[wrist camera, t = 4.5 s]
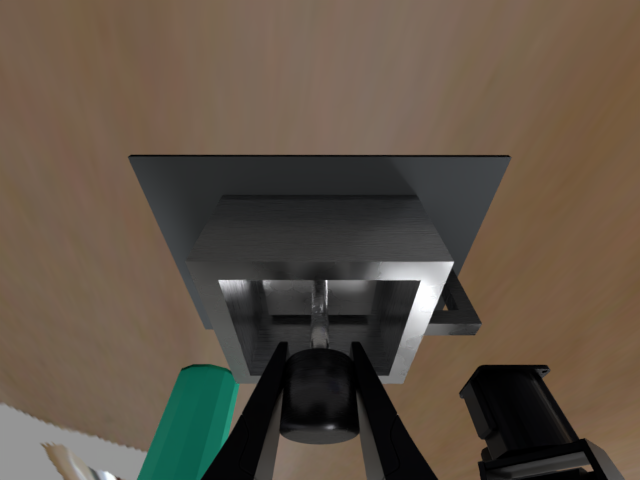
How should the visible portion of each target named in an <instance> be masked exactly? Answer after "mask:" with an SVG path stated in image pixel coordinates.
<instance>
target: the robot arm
mask: <svg viewBox="0 0 640 480" xmlns="http://www.w3.org/2000/svg"><path fill="white" fill-rule="evenodd" d="M288 358H289V344H288V342H287V341H280V342H279V343H278V345H277V347H276V349H275V351H274V353H273V355H272V356H271V358H270V360H269V362H268V364H267V366H266V368H265V370H264V372H263V374H262V375H261V377H260V379H259V381H258V383H257V385H256V387H255V389H254V391H253V392H252V394H251V396H250V398H249V400H248V402H247V404H246V406H245V408H244V409H243V411H242V414H241V415H240V417H239V419H238V421H237V423H236V424H235V426H234V428H233V430H232V431H231V433H230V435H229V437H228V438H227V440H226V441H225V443H224V445H223V446H222V448H221V449H220V451H219V452H218V454H217V455H216V457H215V458H214V460H213V461H212V463H211V464H210V466H209V467H208V469H207V470H206V472H205V474H204V475H203V477H202V478H201V479H200V480H272V478H273V472H274V466H275V460H276V454H277V448H278V442H279V436H280V432H279V428H280V418H281V408H282V398H283V388H284V379H285V371H286V362H287V360H288ZM350 358H351V359H352V361H353V368H354V377H355V385H356V395H357V405H358V416H359V426H360V433H359V435H360V441H361V447H362V453H363V459H364V465H365V471H366V477H367V480H438V478H437V477H436V475H435V474H434V472H433V471H432V469H431V468H430V466H429V465H428V463H427V461H426V460H425V458H424V457H423V455H422V454H421V452H420V451H419V449H418V448H417V446H416V445H415V443H414V441H413V440H412V438H411V437H410V435H409V433H408V431H407V430H406V428H405V426H404V424H403V422H402V421H401V419H400V417H399V415H398V414H397V411H396V409H395V407H394V405H393V404H392V402H391V400H390V398H389V396H388V394H387V392H386V390H385V388H384V386H383V385H382V383H381V381H380V379H379V377H378V375H377V373H376V371H375V369H374V367H373V365H372V364H371V362H370V360H369V358H368V356H367V354H366V352H365V350H364V348H363V346H362V345H361V343H360V342H359V341H352V342H351V346H350ZM550 371H551V370H550V368H549V367H548V365H480V366H479V367H477V369H476V370H475V372H474V373H473V374H472V376H471V377H470V378H469V380H468V381H467V382H466V384H465V385H464V387H463V388H462V389H461V391H460V392H459V396H460V398H461V399H464V400H465V403H466V406H467V408H468V411H469V413H470V416H471V419H472V421H473V424H474V427H475V429H476V432H477V434H478V437H479V438H480V439H481V440H485V442H486V444H487V447H488V449H489V452H490V454H491V457H492V460H489V461H484V460H483V461H478V467H479V472H480V479H481V480H625V479H624V477H623V476H622V474H621V473H620V472H619V470H618V469H617V467H616V466H615V465H614V463H613V462H612V460H611V459H610V458H609V456H608V455H607V453H606V452H605V451H604V450H603V449H602V448H600V447H599V446H597V445H595V444H594V443H592V442H591V441H589V440H588V439H586V438H583V439H579V437H578V435H577V434H576V432H575V431H574V429H573V427H572V426H571V424H570V423H569V421H568V419H567V418H566V416H565V414H564V413H563V411H562V410H561V408H560V406H559V405H558V403H557V402H556V400H555V398H554V397H553V395H552V394H551V392H550V390H549V389H548V387H547V386H546V384H545V382H544V381H543V379H542V378H544V377H545V376H546V375H547V374H548V373H549V372H550ZM585 465H591V467H592V469H593V470H594V471H589V472H587V471H586V470H585V469H584V468H582V467H579V466H585ZM574 467H578V468H574ZM568 468H572V469H568ZM563 469H567V470H563ZM557 470H561V471H557ZM552 471H555V472H552ZM546 472H550V473H546ZM540 473H544V474H540ZM535 474H538V475H535ZM529 475H533V476H529ZM524 476H527V477H524ZM518 477H522V478H518ZM512 478H516V479H512Z"/></svg>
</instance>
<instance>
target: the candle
mask: <svg viewBox="0 0 640 480" xmlns="http://www.w3.org/2000/svg"><path fill="white" fill-rule="evenodd" d="M239 385H240V384H236V382H235V380H234V377H233V375H232V372H231V371H230V370H229V369H227V368H224V367H220V366H216V365H212V364H192V365H190V366H187V367H184V368H182V369H181V371H180V373H179V375H178V377H177V380H176V382H175V385H174V387H173V390H172V392H171V395H170V397H169V400H168V402H167V405H166V407H165V410H164V412H163V415H162V418H161V420H160V423H159V425H158V428H157V430H156V433H155V435H154V438H153V440H152V443H151V445H150V448H149V450H148V453H147V455H146V458H145V460H144V463H143V465H142V468H141V470H140V473H139V475H138V478H137V480H200V479H201V478H202V477H203V475H204V474H205V472H206V470H207V469H208V467H209V466H210V464H211V463H212V461H213V460H214V458H215V457H216V455H217V454H218V452H219V451H220V449H221V448H222V446H223V445H224V443H225V441H226V440H227V438H228V435H229V431H230V426H231V422H232V417H233V412H234V408H235V403H236V399H237V394H238V390H239Z"/></svg>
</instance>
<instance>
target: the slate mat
mask: <svg viewBox="0 0 640 480" xmlns="http://www.w3.org/2000/svg"><path fill="white" fill-rule="evenodd" d="M511 158H512V157H511V156H509V155H130V156H128V159H129V161H130V163H131V166H132V168H133V170H134V172H135V175H136V177H137V179H138V181H139V183H140V186H141V188H142V190H143V192H144V194H145V197H146V199H147V201H148V203H149V206H150V208H151V210H152V212H153V214H154V217H155V219H156V221H157V223H158V226H159V228H160V230H161V232H162V234H163V237H164V239H165V241H166V243H167V245H168V248H169V250H170V252H171V254H172V257H173V259H174V261H175V263H176V265H177V268H178V270H179V272H180V274H181V277H182V279H183V281H184V283H185V285H186V288H187V290H188V292H189V294H190V297H191V299H192V301H193V303H194V305H195V308H196V310H197V312H198V314H199V316H200V319H201V321H202V323H203V325H204V328H205V329H212V330H214V329H213V327H212V325H211V322H210V320H209V317H208V315H207V313H206V310H205V308H204V305H203V303H202V301H201V298H200V296H199V294H198V291H197V289H196V286H195V284H194V282H193V279H192V277H191V274H190V272H189V270H188V267H187V265H186V262H185V261H186V259H187V257H188V256H189V254H190V252H191V250H192V248H193V247H194V245H195V243H196V241H197V239H198V238H199V236H200V234H201V232H202V231H203V229H204V227H205V225H206V223H207V222H208V220H209V218H210V216H211V214H212V213H213V211H214V209H215V207H216V206H217V204H218V202H219V200H220V198H221V197H222V195H417V196H418V198H419V199H420V201H421V203H422V205H423V207H424V208H425V210H426V212H427V214H428V216H429V217H430V219H431V221H432V223H433V225H434V226H435V228H436V230H437V232H438V234H439V235H440V237H441V239H442V241H443V242H444V244H445V246H446V248H447V250H448V251H449V253H450V255H451V257H452V259H453V260H454V263H453V266H452V268H453V270H454V272H455V274H456V276H457V277H458V275H459V273H460V271H461V269H462V266H463V264H464V262H465V260H466V257H467V255H468V253H469V251H470V249H471V246H472V244H473V242H474V240H475V238H476V235H477V233H478V231H479V229H480V227H481V224H482V222H483V220H484V218H485V215H486V213H487V211H488V209H489V207H490V204H491V202H492V200H493V198H494V196H495V193H496V191H497V189H498V187H499V185H500V182H501V180H502V178H503V176H504V173H505V171H506V169H507V167H508V165H509V162H510V160H511ZM444 306H445V302H444V300H443V298H442V295H441V294H440V297H439V299H438V302H437V304H436V306H435V309H434V310H443V308H444Z"/></svg>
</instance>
